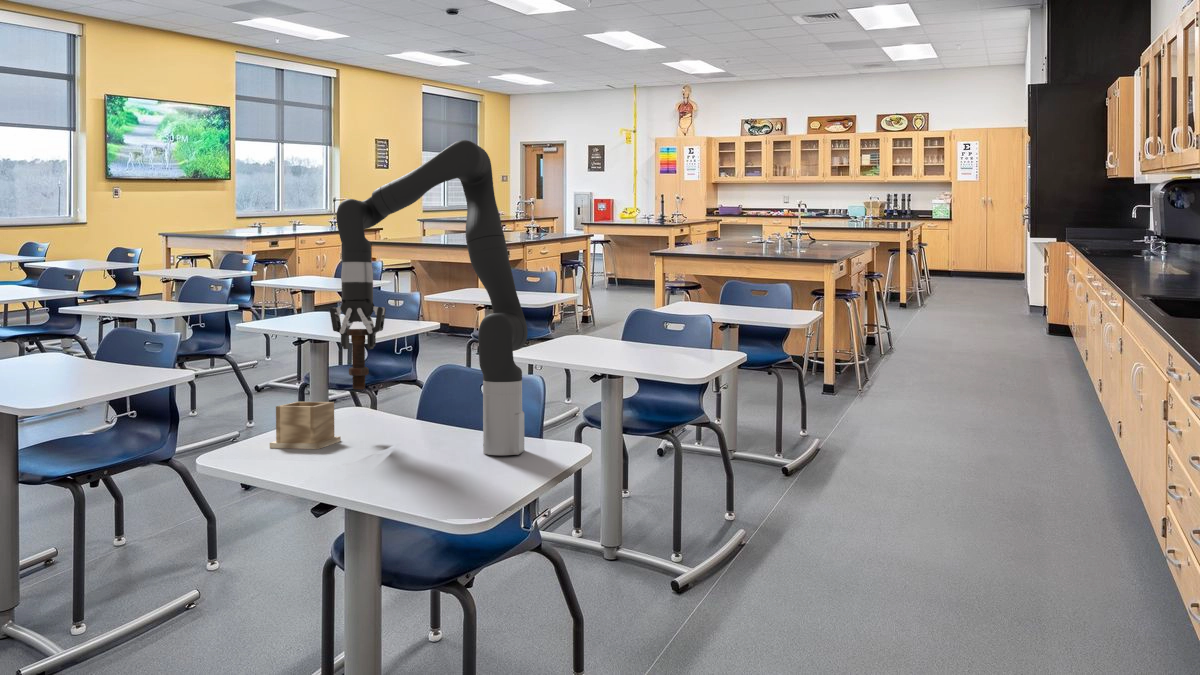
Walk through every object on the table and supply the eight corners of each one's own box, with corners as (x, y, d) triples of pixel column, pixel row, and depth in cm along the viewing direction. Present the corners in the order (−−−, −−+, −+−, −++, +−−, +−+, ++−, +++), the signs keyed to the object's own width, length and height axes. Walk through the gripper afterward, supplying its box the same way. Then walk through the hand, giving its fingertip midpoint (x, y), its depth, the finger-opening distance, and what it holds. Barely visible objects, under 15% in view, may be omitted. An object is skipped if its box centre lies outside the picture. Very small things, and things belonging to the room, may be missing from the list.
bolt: (357, 390, 212) (356, 329, 211) (342, 389, 214) (342, 329, 214) (374, 388, 217) (374, 328, 216) (360, 388, 219) (359, 328, 219)
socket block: (340, 441, 212) (340, 401, 212) (318, 449, 201) (317, 407, 200) (294, 440, 214) (294, 401, 214) (269, 448, 202) (269, 406, 202)
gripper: (390, 281, 218) (391, 348, 218) (336, 282, 219) (337, 348, 220) (379, 280, 210) (380, 349, 211) (323, 280, 212) (324, 349, 213)
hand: (358, 348), depth 215 cm, fingers closed on bolt, 5 cm apart
